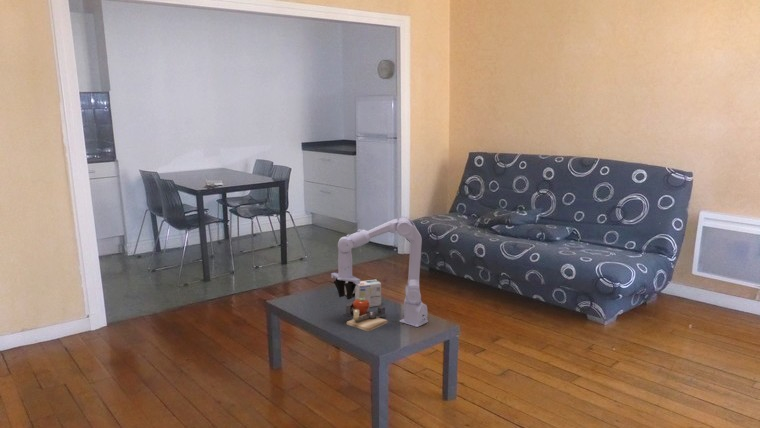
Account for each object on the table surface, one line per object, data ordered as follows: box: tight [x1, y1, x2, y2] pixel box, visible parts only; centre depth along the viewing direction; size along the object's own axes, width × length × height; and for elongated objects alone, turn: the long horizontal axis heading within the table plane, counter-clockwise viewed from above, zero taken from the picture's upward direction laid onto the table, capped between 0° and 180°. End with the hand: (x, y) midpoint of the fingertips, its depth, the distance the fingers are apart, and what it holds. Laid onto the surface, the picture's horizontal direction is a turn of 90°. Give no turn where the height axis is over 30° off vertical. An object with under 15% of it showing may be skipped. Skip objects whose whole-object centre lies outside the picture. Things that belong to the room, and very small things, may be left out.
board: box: [346, 313, 388, 332], centre depth 236 cm, size 12×12×1 cm
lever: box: [353, 305, 386, 322], centre depth 238 cm, size 16×4×5 cm, turn 130°
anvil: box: [343, 301, 354, 317], centre depth 248 cm, size 3×7×4 cm, turn 163°
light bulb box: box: [354, 279, 382, 308], centre depth 258 cm, size 11×7×11 cm, turn 111°
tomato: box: [352, 296, 371, 316], centre depth 247 cm, size 7×7×8 cm
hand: (345, 297), depth 237 cm, fingers open, 4 cm apart
